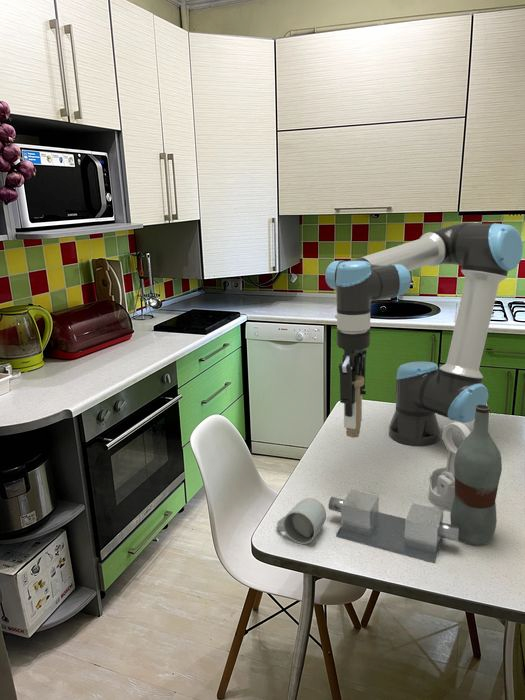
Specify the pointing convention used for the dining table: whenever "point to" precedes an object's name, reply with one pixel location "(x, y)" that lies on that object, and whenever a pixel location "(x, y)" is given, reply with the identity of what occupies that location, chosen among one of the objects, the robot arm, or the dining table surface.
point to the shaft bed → (392, 526)
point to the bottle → (476, 483)
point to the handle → (357, 385)
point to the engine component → (446, 470)
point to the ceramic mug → (303, 521)
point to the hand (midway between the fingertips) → (353, 423)
